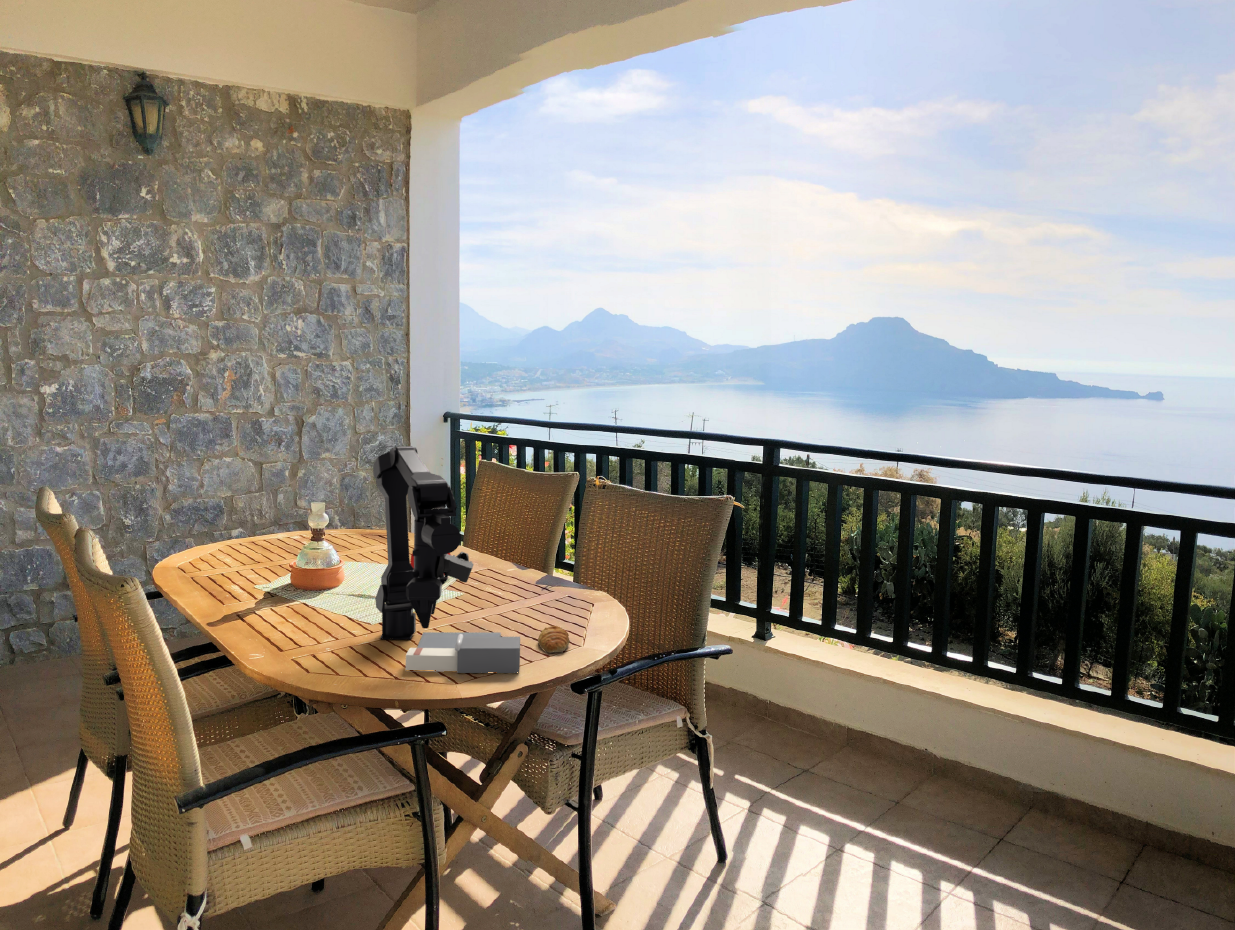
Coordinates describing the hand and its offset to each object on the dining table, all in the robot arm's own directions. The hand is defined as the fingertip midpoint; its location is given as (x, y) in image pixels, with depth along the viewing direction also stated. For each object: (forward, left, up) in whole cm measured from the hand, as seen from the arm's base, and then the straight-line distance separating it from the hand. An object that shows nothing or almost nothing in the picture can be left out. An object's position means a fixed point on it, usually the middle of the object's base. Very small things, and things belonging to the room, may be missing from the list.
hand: (428, 620), depth 169 cm
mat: (+5, +14, -9) cm, 18 cm away
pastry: (+25, +13, -10) cm, 30 cm away
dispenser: (+12, 0, -9) cm, 15 cm away
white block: (+3, 0, -10) cm, 10 cm away
